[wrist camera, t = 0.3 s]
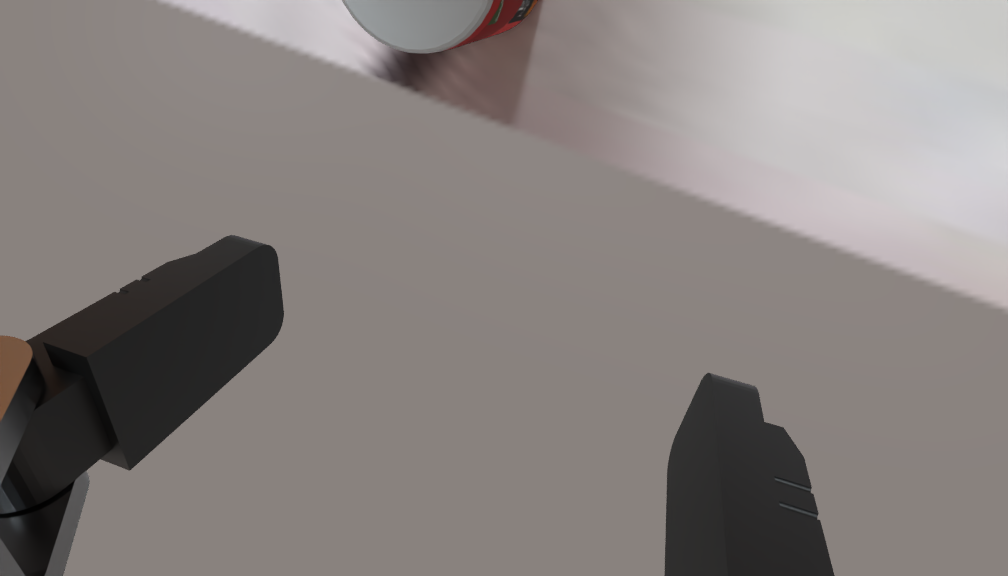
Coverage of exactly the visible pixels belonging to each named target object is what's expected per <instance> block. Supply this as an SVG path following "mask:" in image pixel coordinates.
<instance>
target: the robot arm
mask: <svg viewBox="0 0 1008 576" xmlns="http://www.w3.org/2000/svg"><path fill="white" fill-rule="evenodd" d="M283 317H284V311H283V301H282V291H281V283H280V273H279V264H278V257H277V253H276V251H275V249H274V248H273V247H271V246H270V245H266V244H263V243H259V242H255V241H252V240H248V239H245V238H241V237H238V236H235V235H230V236H227V237H224V238H223V239H221V240H219V241H217V242H216V243H214V244H212V245H210V246H209V247H207V248H205V249H203V250H202V251H200V252H198V253H196V254H193V255H190V256H186V257H183V258H180V259H177V260H173V261H170V262H167V263H165V264H164V265H162V266H160V267H158V268H156V269H155V270H153V271H151V272H149V273H147V274H146V275H144V276H142V279H141V280H140V281H139V280H135V281H133V282H131V283H130V284H128V285H126V286H125V287H122V288H121V289H120V292H119V293H116V292H113V293H112V294H110V295H108V296H106V297H104V298H103V299H101V300H99V301H97V302H96V303H94V304H92V305H90V306H88V307H87V308H85V309H83V310H82V311H80V312H78V313H76V314H74V315H72V316H71V317H69V318H67V319H65V320H63V321H62V322H60V323H58V324H56V325H54V326H53V327H51V328H49V329H47V330H46V331H44V332H42V333H40V334H38V335H37V336H35V337H33V338H31V339H29V340H27V341H23V340H21V339H18V338H15V337H10V336H0V576H63V574H64V571H65V567H66V564H67V560H68V557H69V554H70V550H71V547H72V543H73V540H74V536H75V533H76V529H77V526H78V522H79V519H80V516H81V512H82V508H83V505H84V502H85V498H86V495H87V491H88V488H89V482H90V481H89V475H88V473H87V470H88V469H89V468H90V467H91V466H92V465H93V464H95V463H96V462H97V461H98V460H99V459H101V460H104V461H106V462H109V463H112V464H114V465H117V466H120V467H122V468H125V469H127V470H131V469H132V468H133V467H134V466H135V465H137V464H138V463H139V462H140V461H141V460H142V459H143V458H144V457H145V456H147V455H148V454H149V453H150V452H151V451H152V450H153V449H154V448H155V447H156V446H157V445H159V444H160V443H161V442H162V441H163V440H164V439H165V438H166V437H167V436H169V435H170V434H171V433H172V432H173V431H174V430H175V429H177V428H178V427H179V426H180V425H181V424H182V423H183V422H184V421H185V420H187V419H188V418H189V417H190V416H191V415H192V414H193V413H194V412H195V411H197V410H198V409H199V408H200V407H201V406H202V405H203V404H204V403H205V402H207V401H208V400H209V399H210V398H211V397H212V396H213V395H214V394H215V393H217V392H218V391H219V390H220V389H221V388H222V387H223V386H224V385H225V384H226V383H228V382H229V381H230V380H231V379H232V378H233V377H234V376H236V375H237V374H238V373H239V372H240V371H241V370H242V369H243V368H244V367H246V366H247V365H248V364H249V363H250V362H251V361H252V360H253V359H254V358H256V357H257V356H258V355H259V354H260V353H261V352H262V351H263V350H264V349H265V348H267V347H268V346H269V345H270V344H271V343H272V342H273V341H274V339H275V338H276V336H277V335H278V333H279V331H280V329H281V326H282V322H283ZM817 516H818V510H817V506H816V503H815V499H814V495H813V494H812V493H811V483H810V479H809V476H808V472H807V468H806V464H805V460H804V457H803V455H802V454H801V453H800V451H799V450H798V448H797V447H796V445H795V444H794V442H793V441H792V439H791V438H790V437H789V435H788V434H787V432H786V431H785V429H784V428H783V427H780V426H776V425H773V424H769V423H766V422H764V418H763V413H762V408H761V403H760V397H759V393H758V390H757V388H756V387H755V386H752V385H749V384H745V383H742V382H739V381H735V380H731V379H728V378H724V377H721V376H718V375H714V374H711V373H707V374H706V375H705V376H704V377H703V379H702V380H701V382H700V385H699V387H698V389H697V391H696V393H695V395H694V397H693V399H692V402H691V404H690V406H689V408H688V410H687V412H686V415H685V416H684V419H683V421H682V423H681V425H680V427H679V429H678V431H677V434H676V436H675V439H674V442H673V444H672V448H671V452H670V456H669V462H668V470H667V505H666V545H665V576H834V573H833V568H832V565H831V561H830V557H829V553H828V549H827V545H826V541H825V537H824V534H823V530H822V526H821V522H820V520H817Z"/></svg>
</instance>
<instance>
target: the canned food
mask: <svg viewBox="0 0 1008 576" xmlns="http://www.w3.org/2000/svg"><path fill="white" fill-rule="evenodd" d="M342 1H343V3H344V5H345V6H346V8H347V9H348V11H349V12H350V14H351V15H352V17H353V18H354V19H355V20H356V21H357V23H358V24H359V25H360V26H361V27H362V28H363V29H364V30H365V31H366V32H367V33H369V34H370V35H371V36H372V37H374V38H375V39H376V40H378V41H379V42H381V43H383V44H385V45H387V46H389V47H391V48H393V49H397V50H400V51H404V52H407V53H421V54H423V53H425V54H428V53H434V52H441V51H445V50H449V49H453V48H456V47H459V46H462V45H465V44H468V43H471V42H475V41H478V40H481V39H484V38H487V37H490V36H493V35H496V34H499V33H502V32H504V31H507V30H509V29H511V28H513V27H514V26H516V25H517V24H519V23H520V22H521V21H522V20H523V19H524V18H525V17H526V16H527V15H528V14H529V13H530V11H531V10H532V8H533V7H534V5H535V4H536V2H537V1H538V0H342Z"/></svg>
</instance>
